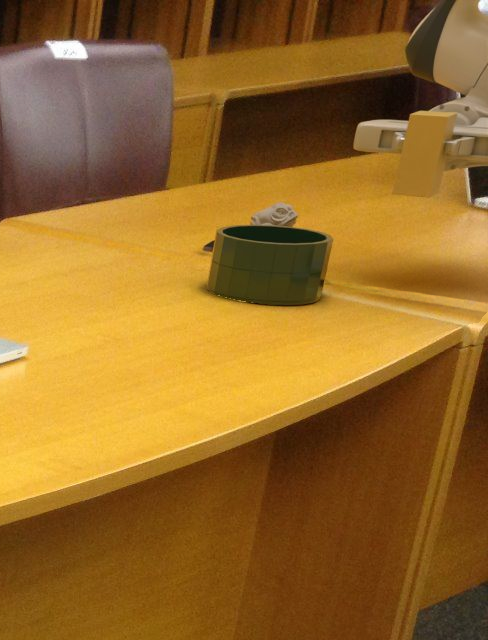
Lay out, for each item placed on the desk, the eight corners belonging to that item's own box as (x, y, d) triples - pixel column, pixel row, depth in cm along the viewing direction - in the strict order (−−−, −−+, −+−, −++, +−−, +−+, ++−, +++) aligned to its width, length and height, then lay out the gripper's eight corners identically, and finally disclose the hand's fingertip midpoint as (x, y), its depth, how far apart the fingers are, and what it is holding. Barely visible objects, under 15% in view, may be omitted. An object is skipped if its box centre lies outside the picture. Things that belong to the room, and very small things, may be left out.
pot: (333, 291, 212) (346, 232, 208) (301, 310, 201) (314, 248, 198) (227, 277, 220) (237, 220, 216) (190, 295, 210) (201, 235, 206)
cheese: (438, 193, 202) (457, 113, 198) (429, 197, 199) (448, 116, 194) (401, 189, 205) (419, 110, 200) (392, 194, 201) (410, 114, 197)
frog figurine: (281, 254, 236) (292, 208, 233) (237, 247, 240) (247, 201, 237) (296, 249, 240) (307, 203, 237) (253, 241, 244) (263, 196, 241)
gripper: (374, 106, 212) (345, 115, 203) (540, 116, 201) (518, 126, 191) (364, 153, 215) (335, 164, 206) (527, 166, 204) (504, 179, 194)
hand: (424, 146), depth 198 cm, fingers closed on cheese, 4 cm apart
